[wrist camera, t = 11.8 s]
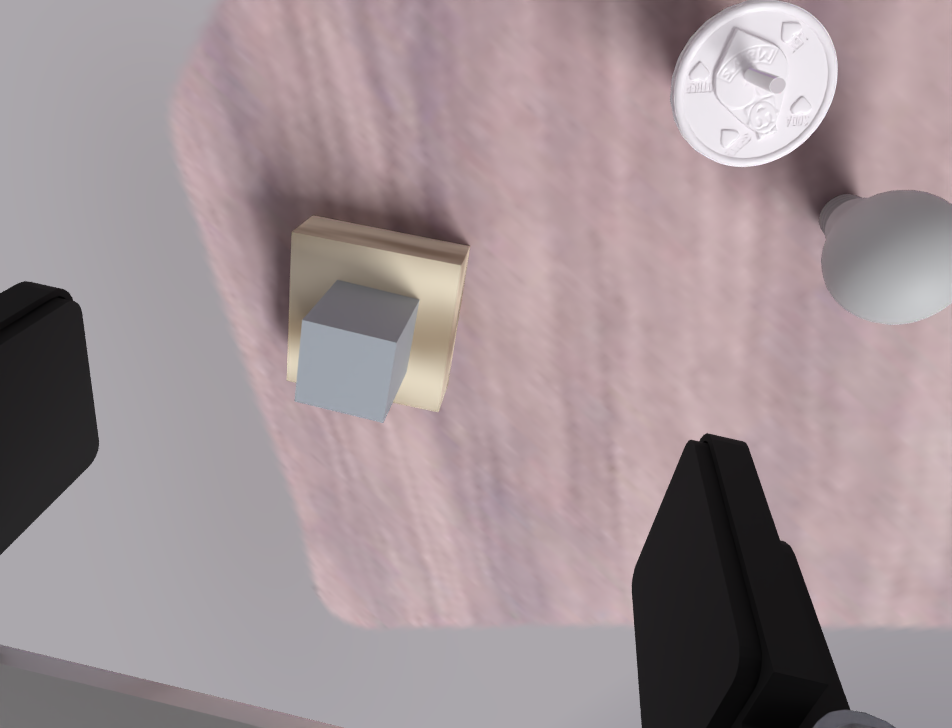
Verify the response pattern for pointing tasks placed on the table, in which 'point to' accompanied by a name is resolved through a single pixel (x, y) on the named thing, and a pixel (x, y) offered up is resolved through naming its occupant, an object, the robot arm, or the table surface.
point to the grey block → (355, 350)
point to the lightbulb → (888, 255)
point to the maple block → (388, 269)
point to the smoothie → (754, 82)
